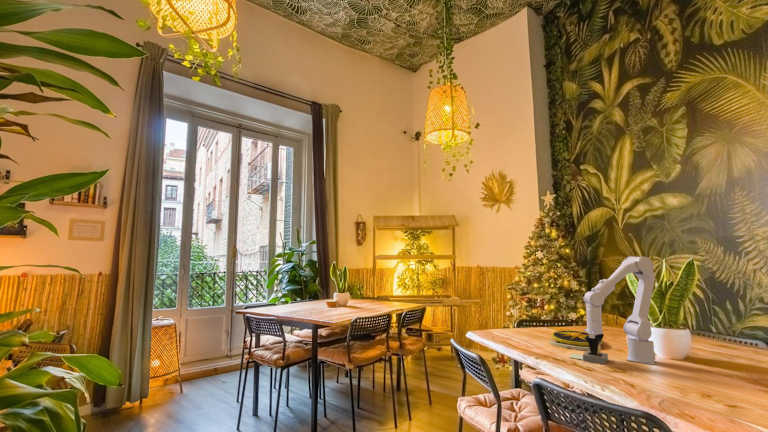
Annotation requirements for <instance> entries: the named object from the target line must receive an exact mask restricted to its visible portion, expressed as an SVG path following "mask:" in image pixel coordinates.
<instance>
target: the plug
mask: <svg viewBox="0 0 768 432" xmlns="http://www.w3.org/2000/svg"><path fill="white" fill-rule="evenodd" d="M600 344H601V341H600V342H599V345H598V352H597V355H594V354H591V352H590V355H594V356H600V357H601V353H602V352H601V351H602V350H601V346H600ZM601 345H602V344H601Z"/></svg>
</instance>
